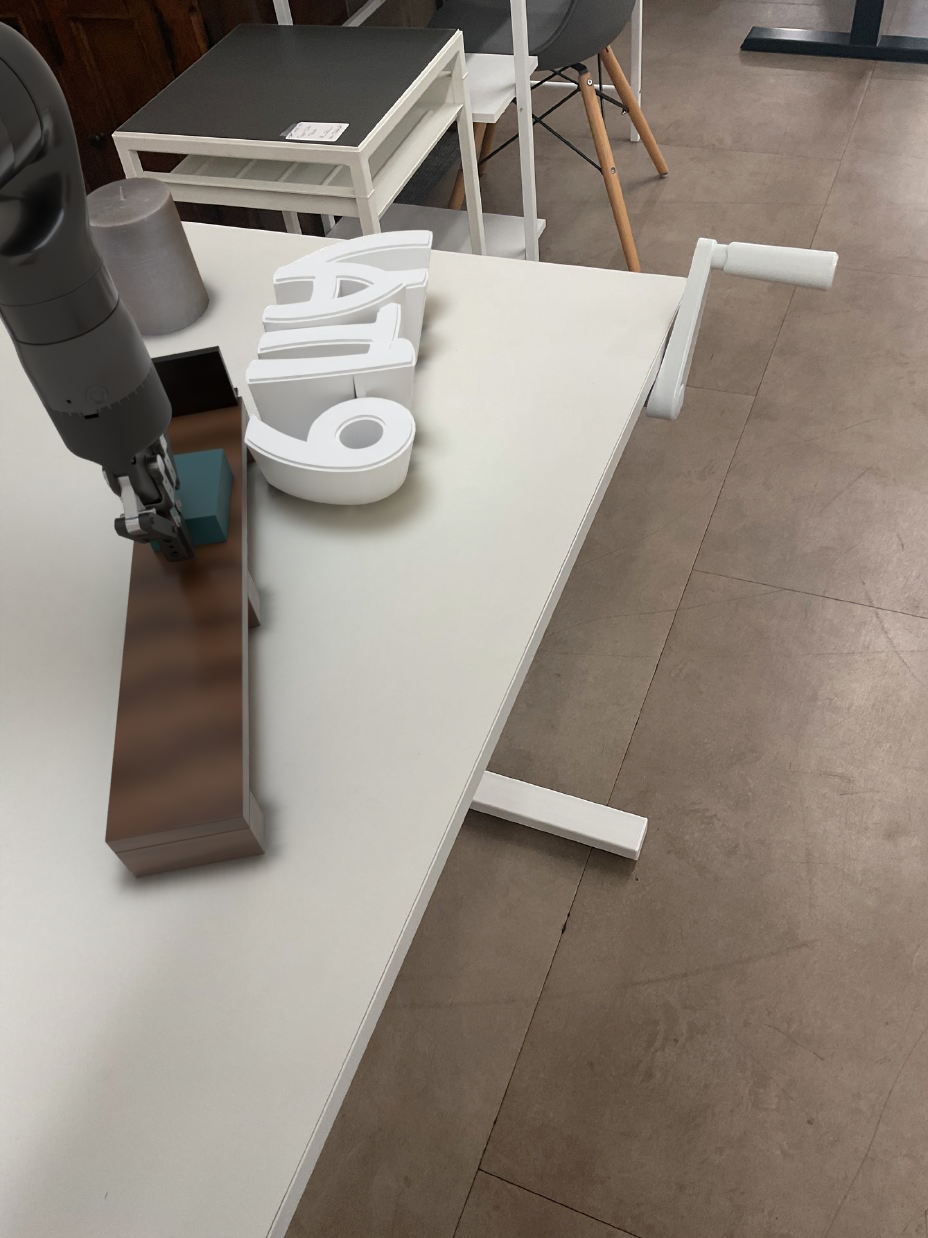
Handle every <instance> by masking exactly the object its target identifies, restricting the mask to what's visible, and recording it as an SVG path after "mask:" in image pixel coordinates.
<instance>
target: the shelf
mask: <svg viewBox="0 0 928 1238" xmlns="http://www.w3.org/2000/svg"><path fill="white" fill-rule="evenodd" d="M249 420H250V415H249V413H248V410H247V407H246V405H245V401H244V399H243V396H241V395H238V405H237V406H232V407H226V408H221V409H216V410H210V411H205V412H200V413H194V414H189V415H183V416H178V417H173V418H171V420H170V423H169V425H168V427H167V431H168V436H169V440H170V444H171V448H172V453H173V455H180V454H186V453H193V452H200V451H207V450H214V449H220V448H223V450H224V453H225V455H226V458H227V460H228V463H229V466H230V468H231V471H232V473H233V480H232V491H231V502H230V513H229V524H228V535H227V541H226V542H219V543H212V544H205V545H198V546H195V550H194V557H193V558H192V559H190V560H184V561H179V562H169V561H167V560H166V558H165V556H164V554H163V552H162V551H156V552H154V551H153V549H152V547H151V545H150V543H145V544H142V543H139V542H136V541H133V544H132V556H131V564H130V565H131V566H130V575H129V587H128V595H127V606H126V619H125V627H124V629H125V631H124V637H123V639H124V640H123V650H122V658H121V659H122V660H121V670H120V680H119V692H118V700H117V711H116V724H115V731H114V744H113V751H112V753H113V754H112V764H111V772H110V773H111V774H110V783H109V784H110V785H109V794H108V795H109V796H108V803H107V804H108V806H107V817H106V827H105V837H104V843H105V844H106V845H107V846H108V848H109V849H110V850H111V851H112V852H113V853H114V855H115V856H116V857H117V858H118V859H119V860H120V861H121V863H122V864H123V865H124V866H125V868H126V869H127V870H128V871H129V872H130V874H131V875H132V876H133V877H134V878H135V879H138V878H142V877H143V878H144V877H148V876H154V875H158V874H164V873H169V872H170V873H171V872H175V871H181V870H185V869H190V868H191V869H192V868H197V867H201V866H206V865H212V864H218V863H222V862H223V863H224V862H228V861H234V860H240V859H245V858H249V857H254V856H261V855H265V853H266V838H265V836H266V833H265V831H266V830H265V815H264V812H263V811H262V809H261V808H260V806H259V804H258V802H257V800H256V798H255V797H254V795H253V793H252V791H251V790H250V736H249V735H250V734H249V733H250V731H249V728H250V726H249V723H250V722H249V721H250V719H249V716H250V715H249V714H250V713H249V629H250V628H254V627H259V626H261V625H262V613H261V612H262V611H261V610H262V609H261V607H262V606H261V597H260V594H259V592H258V590H257V586H256V585H255V582H254V581H253V578H252V575H251V573H250V571H249V569H248V463H253V462H256V461H255V459H254V457H253V456H252V454H251V452H250V450H249V449H248V447H247V445H246V443H245V434H246V429H247V426H248V423H249Z"/></svg>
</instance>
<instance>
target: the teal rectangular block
mask: <svg viewBox="0 0 928 1238" xmlns="http://www.w3.org/2000/svg"><path fill="white" fill-rule="evenodd" d="M173 457H174V461H175V465H176V469H177V474H178V478H179V479H180V489H179V490H176V492H177V494H178V496H179V499H180V500H181V502H182V511H181V513H182V515H183V518H184V520H185V522H186V524H187V526H188V528H189V530H190V532H191V535H192V537H193V539H194V541H195V546H198V545H205V544H212V543H219V542H226V541H227V535H228V524H229V513H230V502H231V491H232V480H233V473H232V471H231V468H230V466H229V463H228V460H227V458H226V455H225V453H224V450H223V448H220V449H214V450H207V451H200V452H193V453H186V454H180V455H173ZM150 545H151V547H152V549H153V551H154V552H156V551H162V550H161V548H160V547H159V545H158V543H157V541H152V542H150Z"/></svg>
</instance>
